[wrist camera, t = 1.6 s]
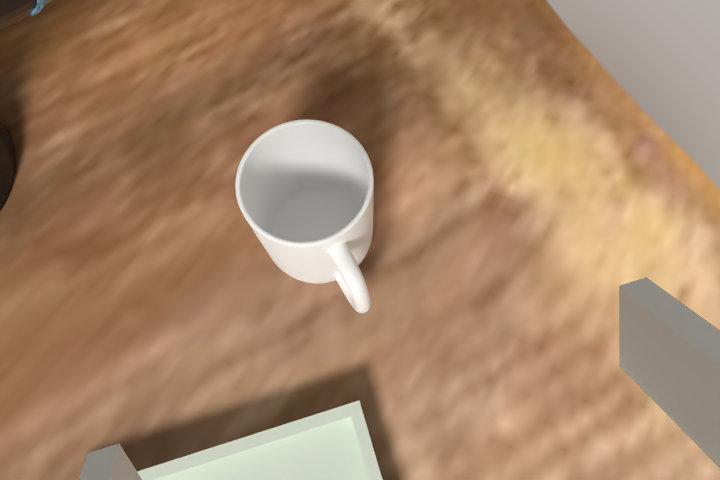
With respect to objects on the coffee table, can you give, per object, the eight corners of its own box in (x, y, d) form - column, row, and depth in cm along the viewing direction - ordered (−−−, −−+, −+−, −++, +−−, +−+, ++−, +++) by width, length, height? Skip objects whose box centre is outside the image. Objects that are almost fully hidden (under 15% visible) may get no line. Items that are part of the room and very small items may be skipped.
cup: (343, 168, 43) (335, 98, 34) (415, 297, 40) (430, 260, 30) (249, 213, 42) (213, 154, 33) (316, 349, 39) (298, 329, 29)
